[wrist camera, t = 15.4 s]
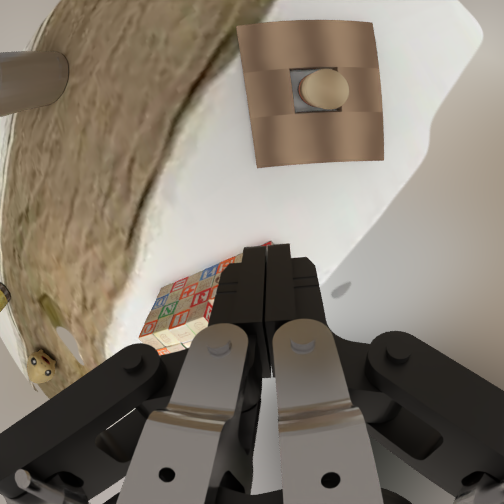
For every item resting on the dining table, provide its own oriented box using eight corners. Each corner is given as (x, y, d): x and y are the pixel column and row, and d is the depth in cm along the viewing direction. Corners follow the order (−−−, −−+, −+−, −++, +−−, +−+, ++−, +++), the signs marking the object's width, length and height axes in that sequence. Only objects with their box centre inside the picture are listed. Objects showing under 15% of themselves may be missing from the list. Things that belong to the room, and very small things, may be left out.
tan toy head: (64, 359, 66) (50, 386, 57) (56, 369, 71) (43, 393, 62) (39, 338, 63) (22, 364, 54) (33, 350, 68) (18, 374, 59)
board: (258, 162, 36) (256, 168, 34) (238, 31, 27) (236, 26, 25) (376, 155, 34) (383, 160, 32) (364, 27, 25) (372, 22, 23)
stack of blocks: (271, 238, 42) (271, 292, 32) (289, 270, 45) (293, 327, 34) (160, 287, 49) (136, 339, 38) (181, 312, 51) (163, 364, 41)
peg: (298, 106, 32) (308, 110, 24) (294, 76, 30) (303, 69, 22) (330, 105, 32) (351, 109, 23) (326, 74, 30) (347, 68, 21)
